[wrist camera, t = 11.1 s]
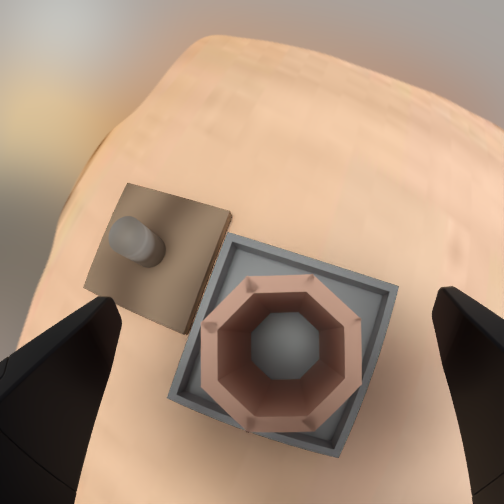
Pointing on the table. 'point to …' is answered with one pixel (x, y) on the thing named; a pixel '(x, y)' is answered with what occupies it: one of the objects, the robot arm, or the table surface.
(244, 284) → the ring tube
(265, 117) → the table surface
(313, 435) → the charcoal tray
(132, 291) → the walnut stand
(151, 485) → the table surface
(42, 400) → the robot arm
